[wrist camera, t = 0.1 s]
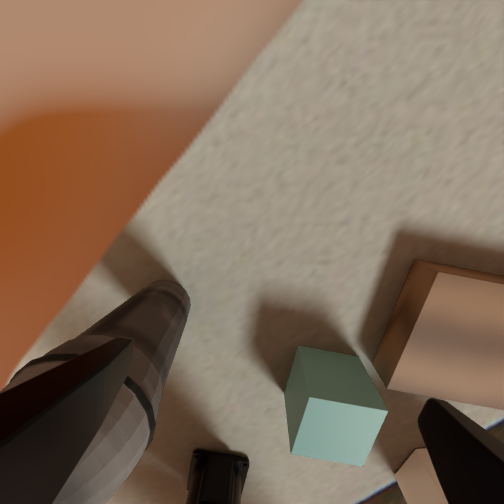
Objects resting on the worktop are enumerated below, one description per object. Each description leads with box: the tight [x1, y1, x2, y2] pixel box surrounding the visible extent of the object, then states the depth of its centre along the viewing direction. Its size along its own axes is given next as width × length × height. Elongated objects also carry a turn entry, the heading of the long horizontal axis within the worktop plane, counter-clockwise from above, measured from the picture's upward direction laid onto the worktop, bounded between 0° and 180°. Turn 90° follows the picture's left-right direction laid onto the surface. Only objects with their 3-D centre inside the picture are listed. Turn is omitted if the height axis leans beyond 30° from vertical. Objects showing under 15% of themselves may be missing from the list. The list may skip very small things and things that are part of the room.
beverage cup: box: [0, 280, 191, 504], centre depth 14 cm, size 7×7×20 cm
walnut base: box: [372, 259, 504, 410], centre depth 22 cm, size 11×11×3 cm
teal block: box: [284, 345, 388, 467], centre depth 22 cm, size 6×6×6 cm
